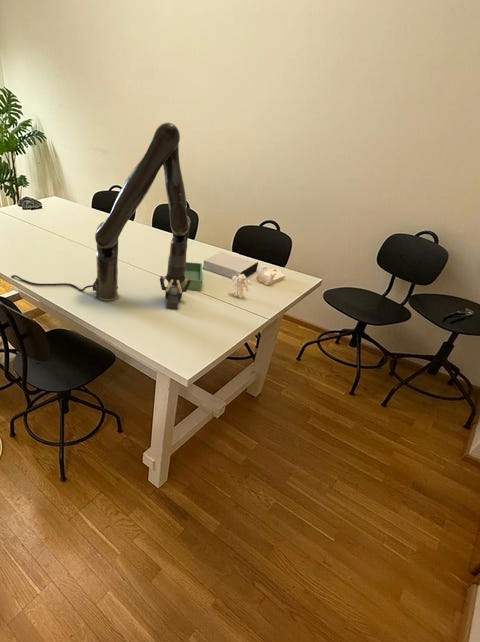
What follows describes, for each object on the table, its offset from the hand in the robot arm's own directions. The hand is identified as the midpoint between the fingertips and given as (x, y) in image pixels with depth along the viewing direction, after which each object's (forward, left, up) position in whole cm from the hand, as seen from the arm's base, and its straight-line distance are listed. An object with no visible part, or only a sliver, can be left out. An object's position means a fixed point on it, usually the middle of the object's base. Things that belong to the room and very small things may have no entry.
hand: (173, 298), depth 167 cm
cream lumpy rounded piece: (+48, +31, -1) cm, 57 cm away
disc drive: (+28, +40, -1) cm, 49 cm away
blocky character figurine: (+30, +10, -1) cm, 32 cm away
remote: (0, 0, -1) cm, 1 cm away
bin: (+6, +23, -1) cm, 24 cm away
